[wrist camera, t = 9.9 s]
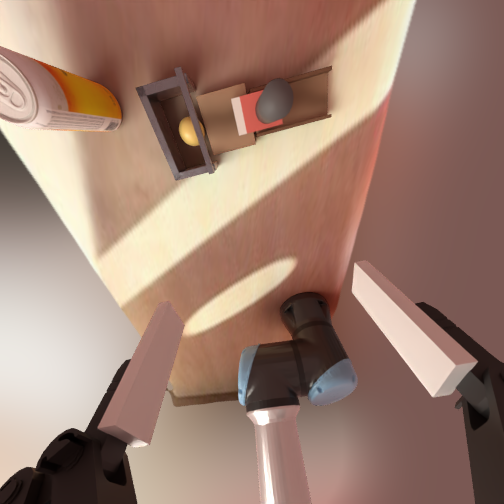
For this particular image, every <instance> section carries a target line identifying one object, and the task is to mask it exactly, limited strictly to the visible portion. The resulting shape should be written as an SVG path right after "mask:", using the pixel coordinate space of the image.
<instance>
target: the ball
mask: <svg viewBox="0 0 504 504" xmlns="http://www.w3.org/2000/svg"><path fill="white" fill-rule="evenodd" d="M199 124H200V127H201V130H202V133H203V136H204V137H205V131H204V127H203V125H202V124H201V122H200V121H199ZM179 133H180V136H181V138H182V140H183V141H184V142H185V143H187V144H188V145H191V146H197V145H199V142H198V139H197V136H196V133H195V130H194V127H193V124H192V121H191V118H190V117H185V118H184V119H182V121H181V122H180V125H179Z"/></svg>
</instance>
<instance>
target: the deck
mask: <svg viewBox="0 0 504 504" xmlns="http://www.w3.org/2000/svg"><path fill="white" fill-rule="evenodd" d="M243 95H247V94H246V88H245V83H242V84H239V85H235V86H232V87H228V88H225V89H221V90H218V91H214V92H211V93H207V94H204V95H200V96H197V97H196V98H197V102H198V105H199V108H200V112H201V115H202V118H203V122H204V125H205V128H206V131H207V135H208V138H209V141H210V145H211V148H212V151H213V155H217V154H221V153H224V152H228V151H232V150H236V149H240V148H243V147H247V146H251V145H255V144H256V143H255V137H254V132H251V133H248V134H244V135H240V136H239V133H238V129H237V124H236V120H235V115H234V111H233V106H232V102H231V99H233V98H236V97H240V96H243Z"/></svg>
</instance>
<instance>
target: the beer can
mask: <svg viewBox="0 0 504 504" xmlns="http://www.w3.org/2000/svg"><path fill="white" fill-rule="evenodd" d="M0 118H1V119H3V120H5V121H8V122H11V123H13V124H15V125H17V126H20V127H23V128H26V129H38V130H68V131H98V132H111V131H114V130H116V129H117V128H118V127H119V126H120V124H121V119H122V114H121V109H120V106H119V104H118V102H117V100H116V98H115V97H114V96H113V94H112V93H111V92H110V91H109V90H108V89H107V88H105V87H104V86H102V85H100V84H98V83H96V82H93V81H90V80H88V79H85V78H82V77H80V76H77V75H75V74H72V73H69V72H67V71H64V70H61V69H59V68H56V67H54V66H51V65H48V64H46V63H43V62H40V61H38V60H35V59H33V58H30V57H27V56H25V55H22V54H19V53H17V52H14V51H12V50H9V49H6V48H4V47H1V46H0Z"/></svg>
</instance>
